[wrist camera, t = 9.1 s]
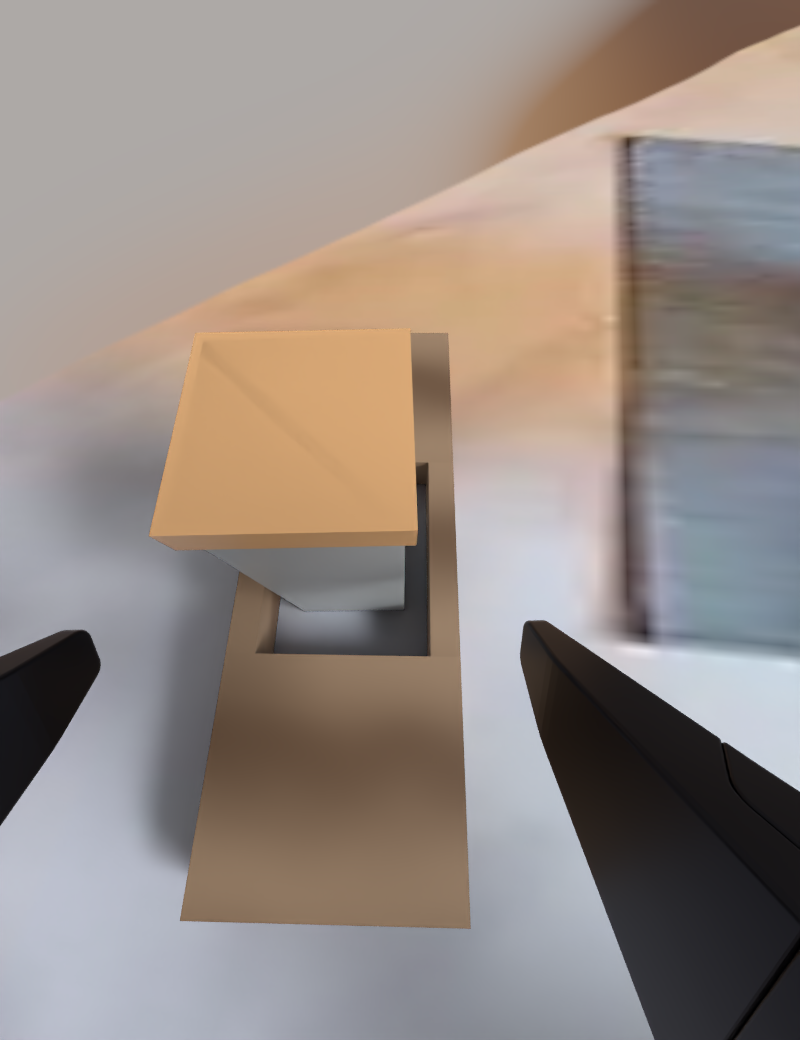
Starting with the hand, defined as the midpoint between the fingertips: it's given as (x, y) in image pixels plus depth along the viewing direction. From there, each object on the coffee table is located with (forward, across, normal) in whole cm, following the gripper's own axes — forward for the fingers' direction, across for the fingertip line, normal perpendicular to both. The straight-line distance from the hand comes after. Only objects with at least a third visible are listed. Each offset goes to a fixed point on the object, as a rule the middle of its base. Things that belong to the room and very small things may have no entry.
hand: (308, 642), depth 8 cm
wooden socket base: (+8, 0, +2) cm, 8 cm away
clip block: (+8, 0, +2) cm, 8 cm away
